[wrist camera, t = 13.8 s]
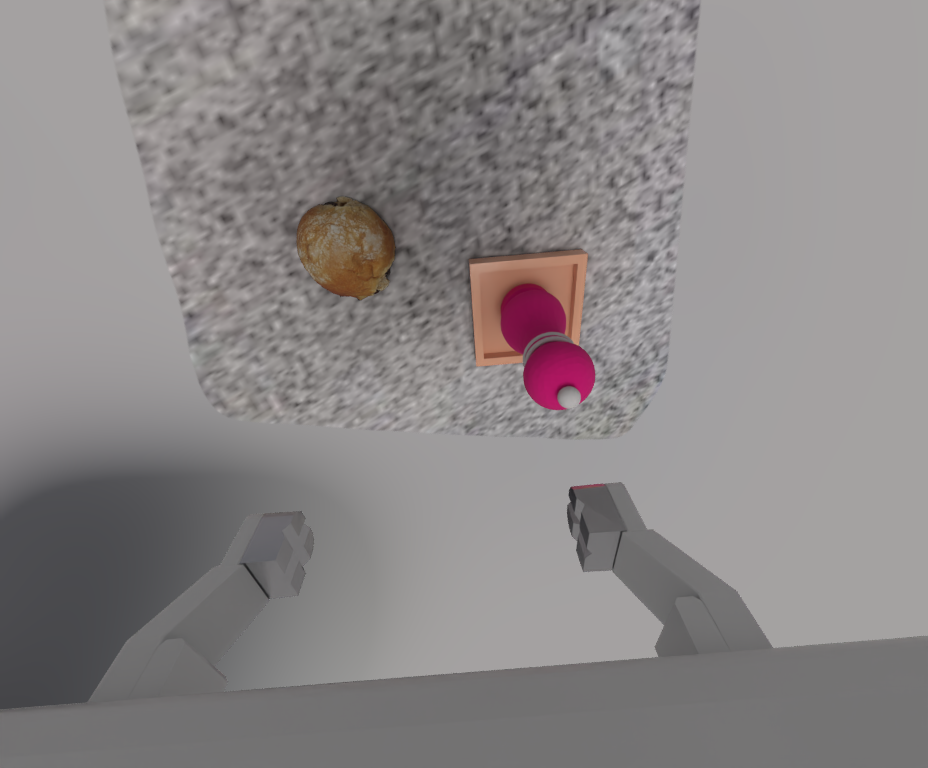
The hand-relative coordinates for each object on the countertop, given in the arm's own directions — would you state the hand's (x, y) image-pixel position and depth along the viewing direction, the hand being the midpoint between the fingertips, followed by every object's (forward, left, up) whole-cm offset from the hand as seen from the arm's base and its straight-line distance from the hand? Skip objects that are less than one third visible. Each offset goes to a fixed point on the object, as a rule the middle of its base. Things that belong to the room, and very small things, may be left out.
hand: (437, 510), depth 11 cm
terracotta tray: (+8, +9, -36) cm, 38 cm away
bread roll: (0, -10, -37) cm, 38 cm away
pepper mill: (+8, +9, -36) cm, 38 cm away
